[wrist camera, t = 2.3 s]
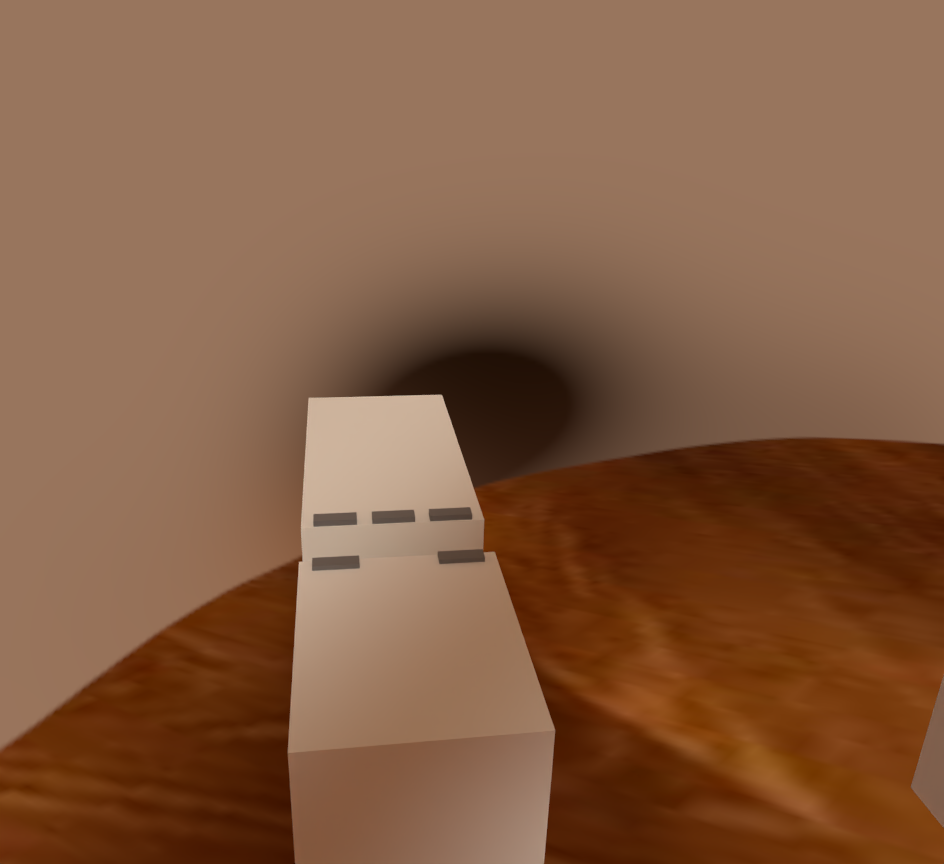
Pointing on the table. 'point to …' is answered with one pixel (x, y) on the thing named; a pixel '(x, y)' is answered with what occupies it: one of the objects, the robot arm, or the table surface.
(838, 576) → the table surface
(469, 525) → the white slotted block
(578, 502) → the table surface
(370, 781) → the stub
